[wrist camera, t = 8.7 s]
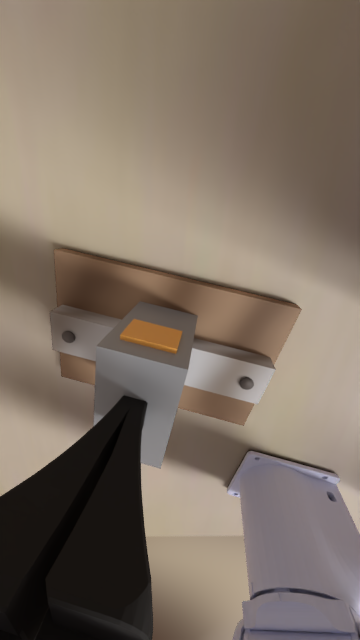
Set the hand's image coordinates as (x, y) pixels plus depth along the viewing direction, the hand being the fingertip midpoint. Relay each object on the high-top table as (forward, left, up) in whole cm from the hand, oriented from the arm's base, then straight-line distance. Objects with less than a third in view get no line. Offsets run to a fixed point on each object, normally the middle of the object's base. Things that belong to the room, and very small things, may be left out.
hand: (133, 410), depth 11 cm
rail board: (0, 0, -7) cm, 7 cm away
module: (0, 0, -6) cm, 6 cm away
